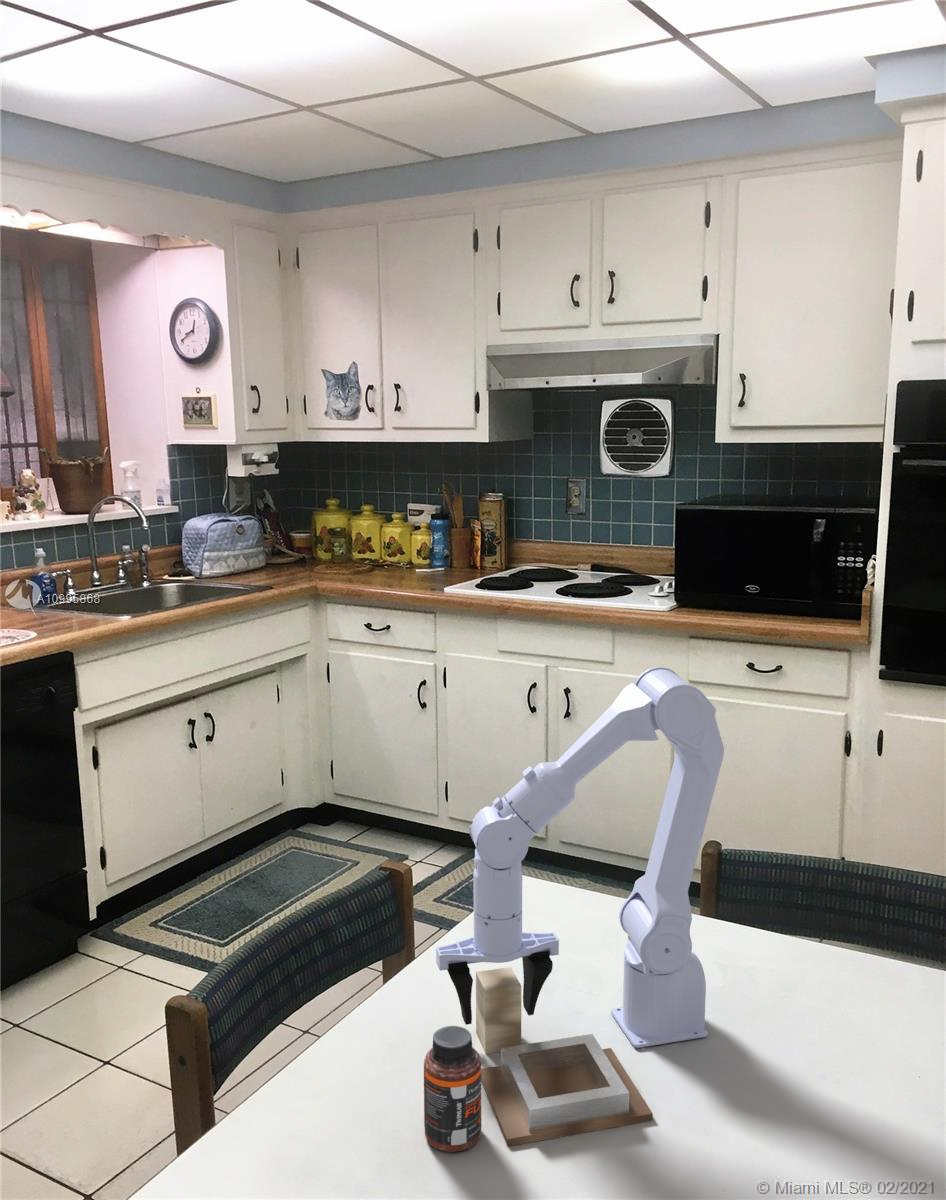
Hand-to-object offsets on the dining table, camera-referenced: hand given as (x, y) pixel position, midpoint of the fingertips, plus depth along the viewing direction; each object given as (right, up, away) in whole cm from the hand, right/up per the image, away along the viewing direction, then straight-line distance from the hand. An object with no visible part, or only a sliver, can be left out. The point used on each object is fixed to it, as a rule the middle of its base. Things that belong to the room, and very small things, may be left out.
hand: (497, 1015), depth 123 cm
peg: (0, -3, +1) cm, 3 cm away
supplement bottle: (-5, -6, -16) cm, 18 cm away
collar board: (+7, -5, -10) cm, 13 cm away
